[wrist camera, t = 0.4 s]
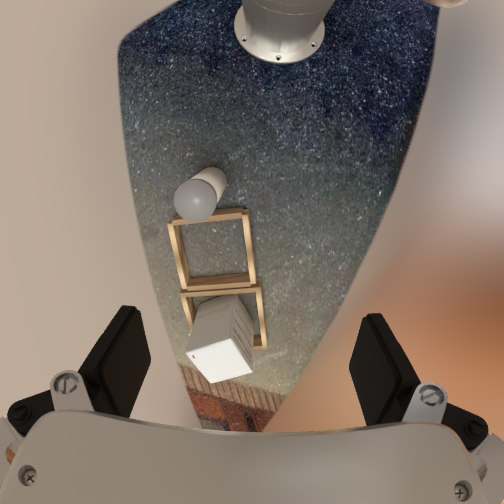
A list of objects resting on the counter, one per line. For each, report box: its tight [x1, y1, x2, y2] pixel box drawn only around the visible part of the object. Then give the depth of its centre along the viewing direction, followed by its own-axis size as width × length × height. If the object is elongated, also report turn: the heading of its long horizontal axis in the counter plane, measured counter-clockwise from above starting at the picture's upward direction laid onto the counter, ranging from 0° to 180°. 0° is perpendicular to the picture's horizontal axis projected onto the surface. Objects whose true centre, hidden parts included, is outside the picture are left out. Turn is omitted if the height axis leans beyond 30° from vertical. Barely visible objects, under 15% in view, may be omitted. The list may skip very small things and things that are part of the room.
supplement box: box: [185, 294, 254, 383], centre depth 44 cm, size 7×7×13 cm
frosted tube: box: [174, 167, 227, 222], centre depth 35 cm, size 5×5×12 cm
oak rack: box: [168, 207, 267, 350], centre depth 46 cm, size 25×13×3 cm, turn 6°
